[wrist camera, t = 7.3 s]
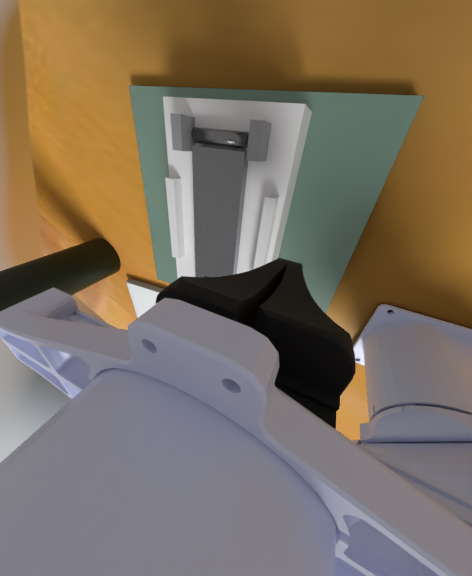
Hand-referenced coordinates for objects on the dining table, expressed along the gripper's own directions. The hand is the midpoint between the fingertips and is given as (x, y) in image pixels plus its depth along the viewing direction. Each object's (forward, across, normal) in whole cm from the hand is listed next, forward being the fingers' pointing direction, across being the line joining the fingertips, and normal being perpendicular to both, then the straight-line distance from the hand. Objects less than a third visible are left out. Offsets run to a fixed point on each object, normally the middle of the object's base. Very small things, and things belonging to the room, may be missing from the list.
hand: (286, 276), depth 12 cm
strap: (+5, +7, +2) cm, 9 cm away
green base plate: (+9, +7, +1) cm, 12 cm away
